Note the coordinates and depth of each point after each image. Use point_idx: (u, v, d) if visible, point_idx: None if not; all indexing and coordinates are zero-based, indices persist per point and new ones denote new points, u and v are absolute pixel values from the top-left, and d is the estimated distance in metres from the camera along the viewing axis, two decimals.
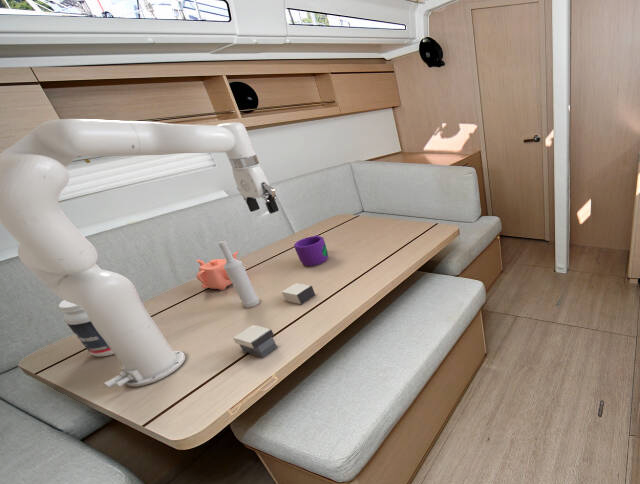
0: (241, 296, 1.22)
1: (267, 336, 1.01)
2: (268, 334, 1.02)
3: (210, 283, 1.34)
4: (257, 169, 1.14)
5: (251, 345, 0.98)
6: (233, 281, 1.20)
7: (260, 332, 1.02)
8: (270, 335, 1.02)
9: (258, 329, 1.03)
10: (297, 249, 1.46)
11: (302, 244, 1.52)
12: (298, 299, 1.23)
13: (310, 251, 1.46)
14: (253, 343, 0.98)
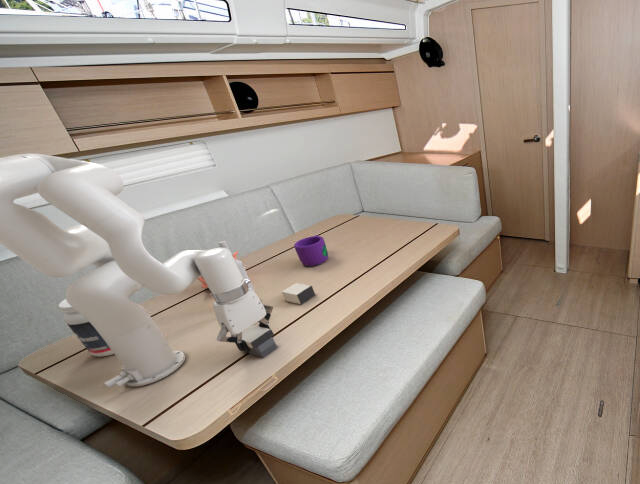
0: None
1: (267, 336, 1.01)
2: (268, 334, 1.02)
3: None
4: (217, 308, 0.92)
5: (251, 345, 0.98)
6: None
7: (260, 332, 1.02)
8: (270, 335, 1.02)
9: (258, 329, 1.03)
10: (297, 249, 1.46)
11: (302, 244, 1.52)
12: (298, 299, 1.23)
13: (310, 251, 1.46)
14: (253, 343, 0.98)
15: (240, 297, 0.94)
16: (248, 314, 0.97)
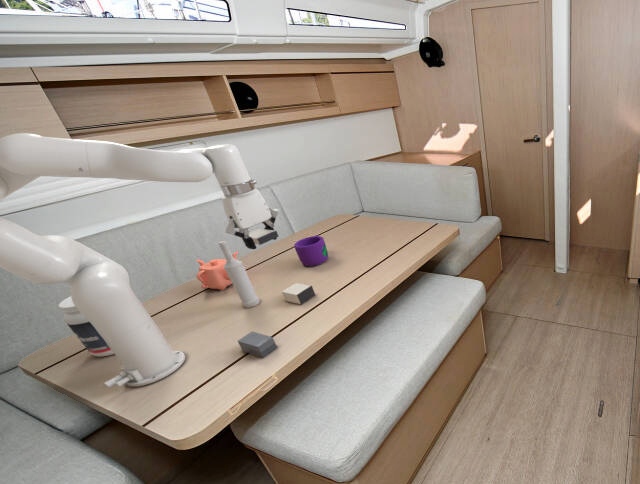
0: (241, 296, 1.22)
1: (272, 236, 1.08)
2: (273, 234, 1.09)
3: (210, 283, 1.34)
4: (226, 201, 0.99)
5: (257, 241, 1.05)
6: (233, 281, 1.20)
7: (265, 232, 1.08)
8: (275, 236, 1.09)
9: (264, 230, 1.10)
10: (297, 249, 1.46)
11: (302, 244, 1.52)
12: (298, 299, 1.23)
13: (310, 251, 1.46)
14: (259, 239, 1.05)
15: (247, 192, 1.01)
16: (254, 212, 1.04)
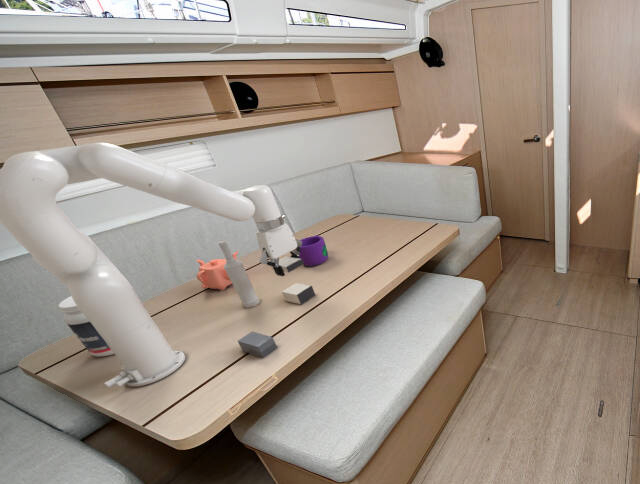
0: (241, 296, 1.22)
1: (299, 264, 1.21)
2: (300, 262, 1.22)
3: (210, 283, 1.34)
4: (260, 235, 1.12)
5: (286, 269, 1.18)
6: (233, 281, 1.20)
7: (292, 260, 1.22)
8: (301, 263, 1.22)
9: (291, 259, 1.23)
10: None
11: (302, 244, 1.52)
12: (298, 299, 1.23)
13: (310, 251, 1.46)
14: (288, 267, 1.18)
15: (278, 227, 1.14)
16: (284, 243, 1.17)
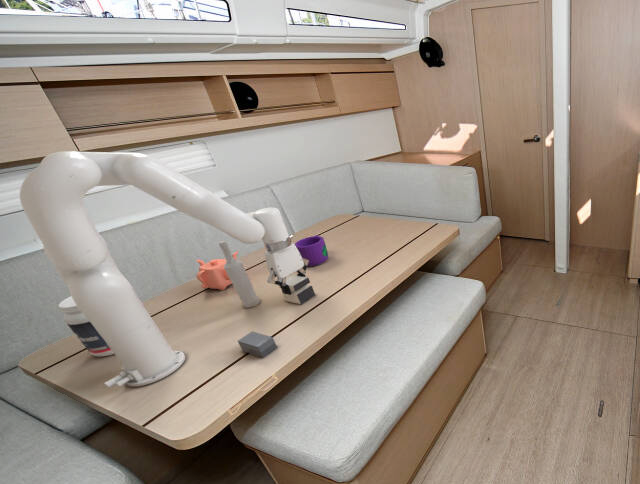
0: (241, 296, 1.22)
1: (305, 282, 1.25)
2: (306, 281, 1.25)
3: (210, 283, 1.34)
4: (268, 256, 1.15)
5: (293, 288, 1.21)
6: (233, 281, 1.20)
7: (299, 279, 1.25)
8: (307, 282, 1.25)
9: (297, 277, 1.26)
10: None
11: (302, 244, 1.52)
12: (298, 299, 1.23)
13: (310, 251, 1.46)
14: (295, 286, 1.21)
15: (286, 247, 1.17)
16: (291, 263, 1.21)
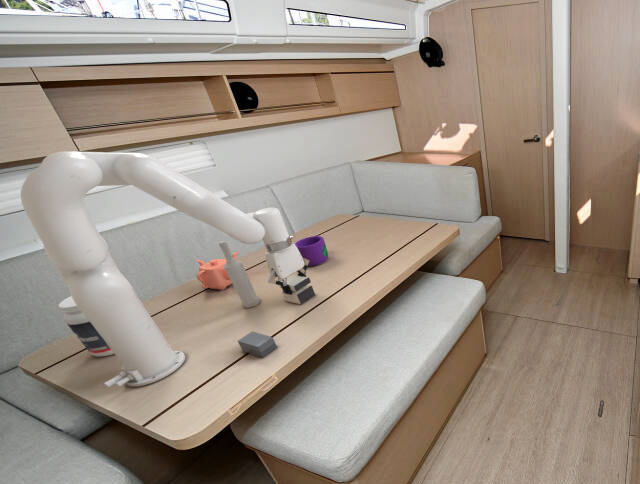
0: (241, 296, 1.22)
1: (306, 282, 1.25)
2: (307, 281, 1.25)
3: (210, 283, 1.34)
4: (269, 256, 1.16)
5: (294, 288, 1.21)
6: (233, 281, 1.20)
7: (300, 279, 1.25)
8: (308, 282, 1.26)
9: (298, 277, 1.26)
10: None
11: (302, 244, 1.52)
12: (298, 299, 1.23)
13: (310, 251, 1.46)
14: (296, 286, 1.21)
15: (286, 248, 1.17)
16: (291, 263, 1.21)
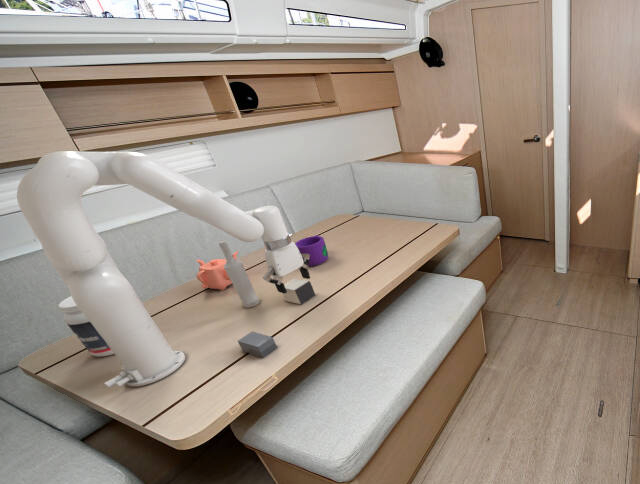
0: (241, 296, 1.22)
1: (307, 286, 1.25)
2: (308, 285, 1.26)
3: (210, 283, 1.34)
4: (268, 254, 1.15)
5: (295, 292, 1.22)
6: (233, 281, 1.20)
7: (301, 283, 1.25)
8: (309, 286, 1.26)
9: (299, 281, 1.27)
10: None
11: (302, 244, 1.52)
12: (298, 299, 1.23)
13: (310, 251, 1.46)
14: (296, 290, 1.22)
15: (285, 246, 1.17)
16: (291, 261, 1.20)
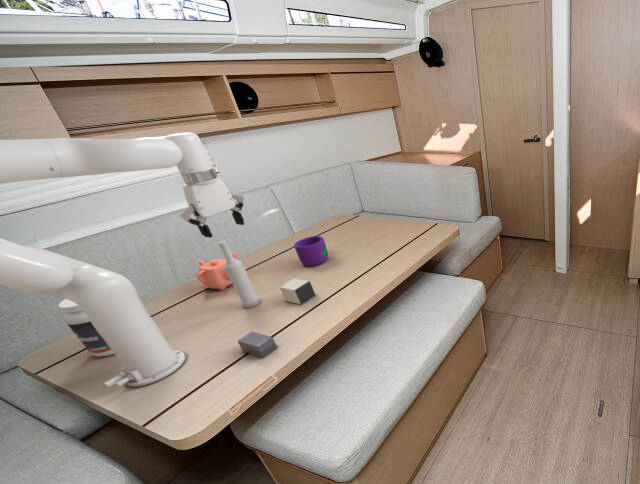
0: (241, 296, 1.22)
1: (307, 286, 1.25)
2: (308, 285, 1.26)
3: (210, 283, 1.34)
4: (186, 189, 1.00)
5: (295, 292, 1.22)
6: (233, 281, 1.20)
7: (301, 283, 1.25)
8: (309, 286, 1.26)
9: (299, 281, 1.27)
10: (297, 249, 1.46)
11: (302, 244, 1.52)
12: (298, 299, 1.23)
13: (310, 251, 1.46)
14: (296, 290, 1.22)
15: (208, 180, 1.01)
16: (217, 200, 1.05)
